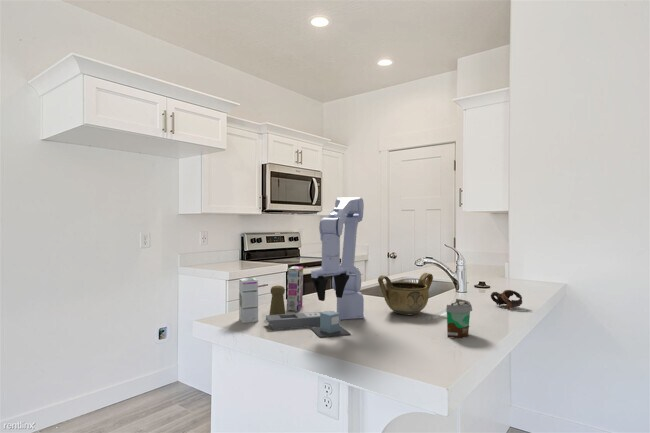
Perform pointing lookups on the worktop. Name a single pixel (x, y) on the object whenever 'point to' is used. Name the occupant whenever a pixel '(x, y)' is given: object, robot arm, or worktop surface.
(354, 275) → the robot arm
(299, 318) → the power strip
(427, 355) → the worktop surface
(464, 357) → the worktop surface
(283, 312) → the tan rounded upright piece
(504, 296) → the dark brown looped piece
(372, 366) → the worktop surface
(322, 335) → the mat
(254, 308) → the syrup box
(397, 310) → the ceramic bowl
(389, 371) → the worktop surface
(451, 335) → the food container
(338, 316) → the block
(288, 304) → the candy bar box
